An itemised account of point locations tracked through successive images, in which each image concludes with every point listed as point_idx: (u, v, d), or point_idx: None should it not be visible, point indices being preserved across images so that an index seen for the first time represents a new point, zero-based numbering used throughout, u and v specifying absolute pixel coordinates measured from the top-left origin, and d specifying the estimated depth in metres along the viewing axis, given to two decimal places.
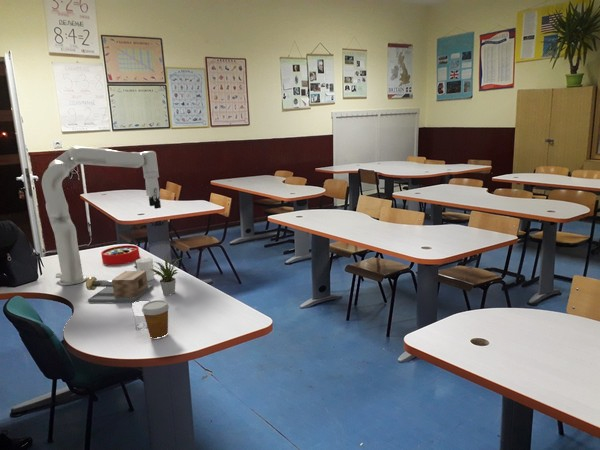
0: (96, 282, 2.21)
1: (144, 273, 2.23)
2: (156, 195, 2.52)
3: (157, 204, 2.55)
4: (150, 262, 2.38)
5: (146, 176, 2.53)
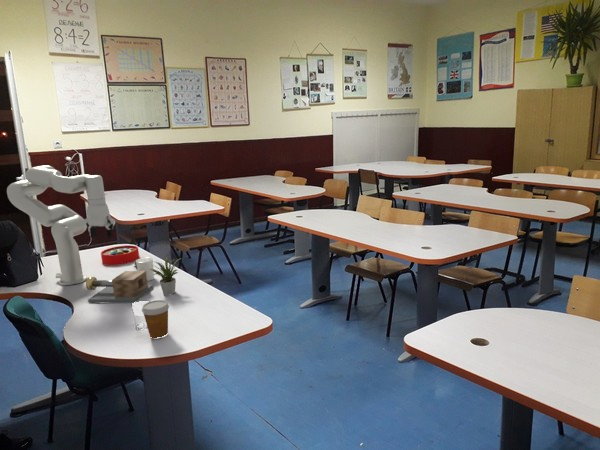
0: (96, 282, 2.21)
1: (144, 273, 2.23)
2: (112, 223, 2.29)
3: (111, 233, 2.31)
4: (150, 262, 2.38)
5: (96, 203, 2.26)
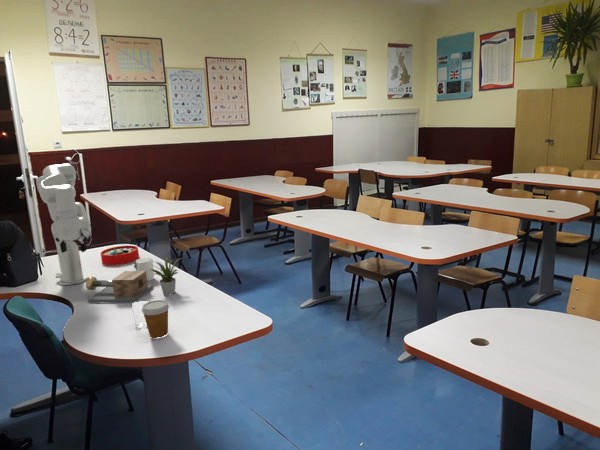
0: (96, 282, 2.21)
1: (144, 273, 2.23)
2: (87, 235, 2.18)
3: (85, 246, 2.20)
4: (150, 262, 2.38)
5: (68, 216, 2.14)
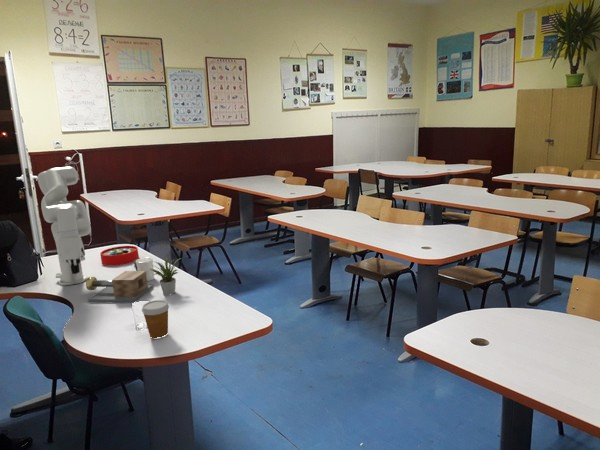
0: (96, 282, 2.21)
1: (144, 273, 2.23)
2: (81, 260, 2.20)
3: (78, 268, 2.21)
4: (150, 262, 2.38)
5: (69, 235, 2.15)
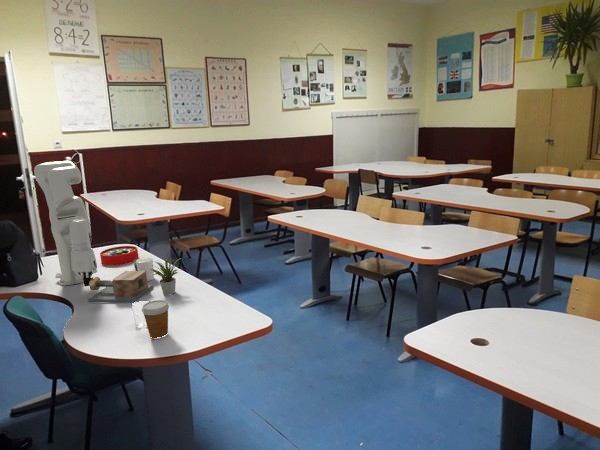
0: (99, 282, 2.21)
1: (144, 273, 2.23)
2: (93, 272, 2.21)
3: None
4: (150, 262, 2.38)
5: (82, 249, 2.16)
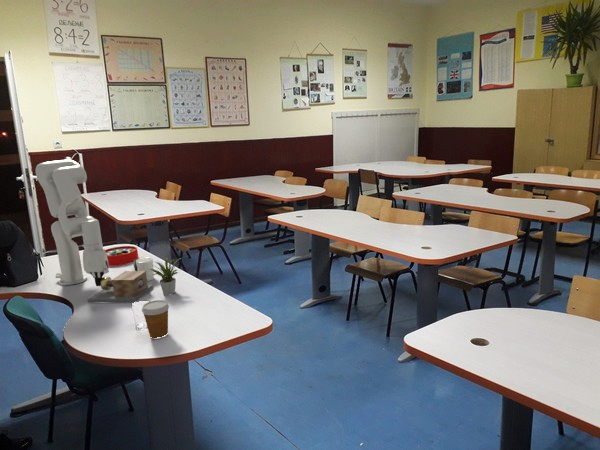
0: (111, 282, 2.20)
1: (144, 273, 2.23)
2: (105, 272, 2.20)
3: None
4: (150, 262, 2.38)
5: (94, 249, 2.15)
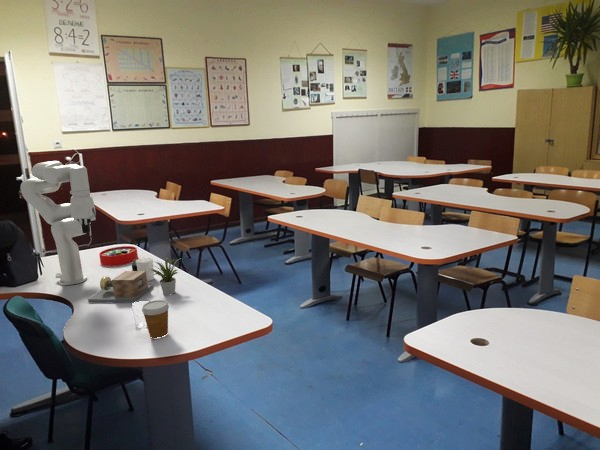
0: (110, 282, 2.20)
1: (144, 273, 2.23)
2: (91, 220, 2.24)
3: (88, 228, 2.26)
4: (150, 262, 2.38)
5: (81, 195, 2.19)
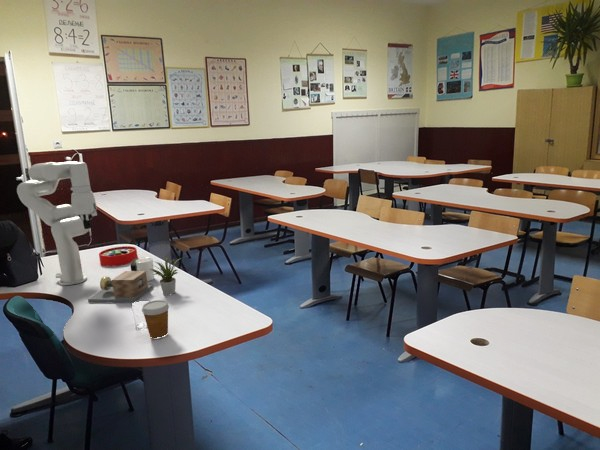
0: (110, 282, 2.20)
1: (144, 273, 2.23)
2: (93, 215, 2.25)
3: (90, 223, 2.27)
4: (150, 262, 2.38)
5: (82, 190, 2.20)
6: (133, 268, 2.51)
